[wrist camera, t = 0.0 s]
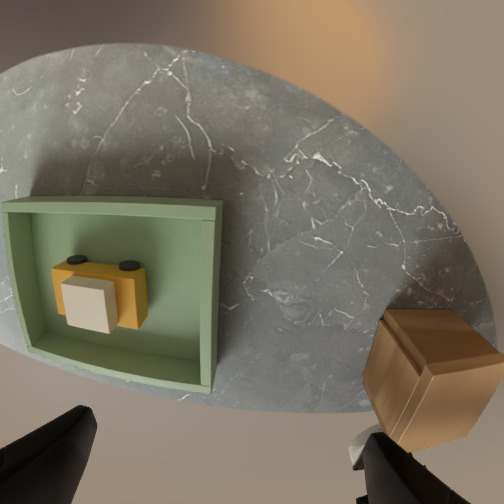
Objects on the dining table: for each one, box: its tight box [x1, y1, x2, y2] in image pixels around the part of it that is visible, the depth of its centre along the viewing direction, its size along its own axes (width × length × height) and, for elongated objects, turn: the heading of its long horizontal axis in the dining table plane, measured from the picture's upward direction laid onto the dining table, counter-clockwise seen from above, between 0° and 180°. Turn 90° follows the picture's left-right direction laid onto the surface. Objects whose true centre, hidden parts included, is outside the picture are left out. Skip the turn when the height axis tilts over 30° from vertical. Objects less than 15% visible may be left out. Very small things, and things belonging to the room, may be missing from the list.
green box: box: [2, 196, 223, 394], centre depth 20 cm, size 14×18×4 cm
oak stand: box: [363, 309, 504, 453], centre depth 19 cm, size 8×8×9 cm
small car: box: [51, 255, 148, 334], centre depth 19 cm, size 7×4×4 cm, turn 86°
